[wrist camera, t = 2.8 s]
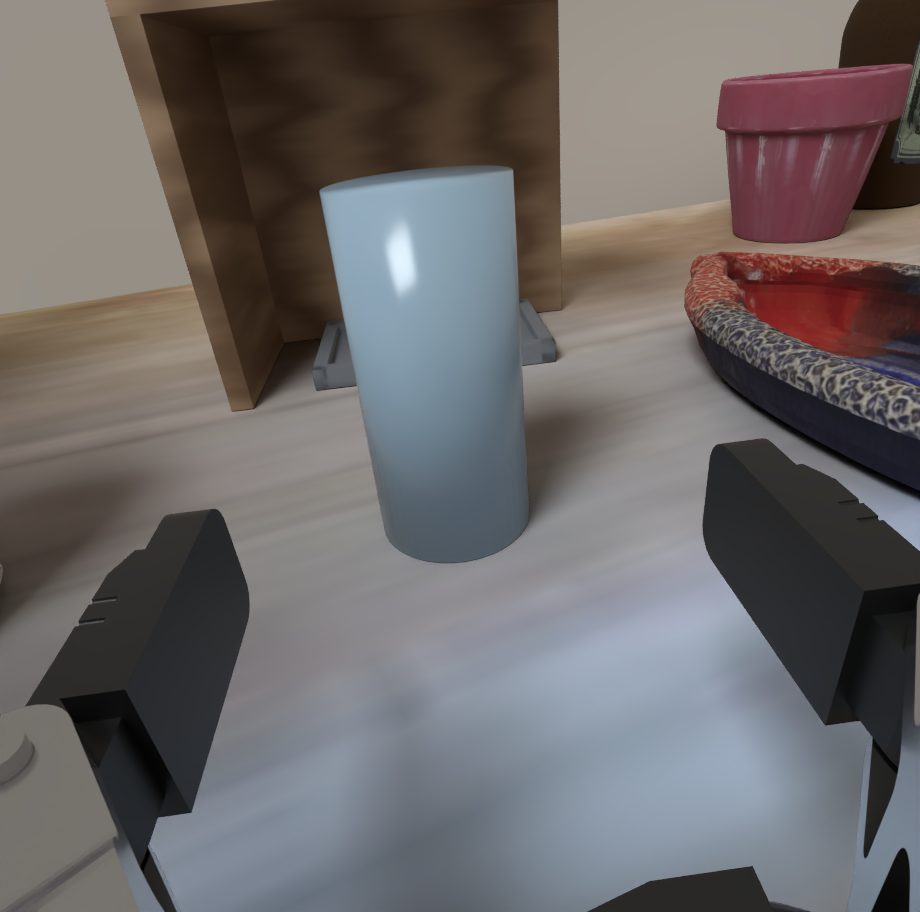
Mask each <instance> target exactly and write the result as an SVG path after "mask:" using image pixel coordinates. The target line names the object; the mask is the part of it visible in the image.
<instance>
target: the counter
mask: <svg viewBox="0 0 920 912" xmlns="http://www.w3.org/2000/svg"><path fill="white" fill-rule="evenodd" d="M105 2H106V5H107V8H108V11H109V15H110V18H111V21H112V25H113V28H114V31H115V34H116V37H117V41H118V44H119V47H120V51H121V54H122V57H123V60H124V63H125V67H126V70H127V73H128V76H129V80H130V83H131V86H132V89H133V93H134V96H135V99H136V102H137V106H138V109H139V112H140V115H141V118H142V122H143V125H144V128H145V131H146V135H147V138H148V141H149V144H150V147H151V151H152V154H153V157H154V161H155V164H156V167H157V170H158V173H159V176H160V179H161V183H162V186H163V190H164V193H165V196H166V199H167V202H168V206H169V209H170V212H171V215H172V219H173V222H174V225H175V228H176V232H177V235H178V238H179V241H180V245H181V248H182V251H183V254H184V258H185V261H186V264H187V267H188V271H189V274H190V277H191V280H192V283H193V287H194V290H195V293H196V296H197V300H198V303H199V306H200V309H201V313H202V316H203V319H204V322H205V326H206V329H207V332H208V335H209V339H210V342H211V345H212V348H213V351H214V355H215V358H216V361H217V364H218V368H219V371H220V374H221V377H222V381H223V384H224V387H225V390H226V394H227V397H228V400H229V403H230V406H231V410H232V411H237V410H246V409H254V407H255V405H256V402H257V400H258V398H259V396H260V394H261V392H262V389H263V387H264V385H265V383H266V381H267V379H268V377H269V374H270V372H271V370H272V368H273V366H274V364H275V361H276V359H277V357H278V355H279V353H280V351H281V349H282V346H283V344H284V343H286V342H294V341H303V340H311V339H319V338H322V337H323V333H324V330H325V327H326V324H327V322H331V321H340V320H344V317H343V312H342V306H341V301H340V296H339V291H338V286H337V280H336V275H335V270H334V265H333V260H332V254H331V249H330V244H329V239H328V234H327V228H326V223H325V218H324V213H323V208H322V202H321V197H320V192H319V191H320V190H321V189H322V188H324V187H326V186H329V185H332V184H335V183H339V182H343V181H347V180H352V179H356V178H361V177H367V176H373V175H379V174H386V173H392V172H400V171H408V170H417V169H427V168H438V167H452V166H474V165H490V166H504V167H509V168H512V169H513V178H514V200H515V222H516V243H517V265H518V287H519V299H525V298H527V299H528V300H529V302H530V303H531V305H532V306H533V308H534V309H535V311H536V313H537V312H546V311H554V310H562V285H561V212H560V211H561V205H560V204H561V203H560V129H559V128H560V120H559V42H558V41H559V39H558V38H559V37H558V0H105Z"/></svg>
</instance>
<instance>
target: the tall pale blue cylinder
mask: <svg viewBox="0 0 920 912" xmlns="http://www.w3.org/2000/svg"><path fill="white" fill-rule="evenodd" d="M319 192H320V197H321V202H322V208H323V213H324V218H325V223H326V228H327V234H328V239H329V244H330V249H331V254H332V260H333V265H334V270H335V275H336V280H337V286H338V291H339V296H340V301H341V306H342V312H343V317H344V322H345V327H346V332H347V338H348V343H349V348H350V353H351V359H352V364H353V369H354V374H355V379H356V385H357V390H358V395H359V400H360V405H361V411H362V416H363V421H364V426H365V431H366V437H367V442H368V447H369V452H370V457H371V463H372V468H373V473H374V478H375V483H376V489H377V494H378V499H379V504H380V510H381V515H382V520H383V525H384V530H385V533H386V536H387V538H388V540H389V541H390V542H391V544H392V545H393V546H394V547H395V548H397V549H398V550H399V551H401V552H403V553H404V554H406V555H409V556H411V557H413V558H416V559H420V560H424V561H429V562H438V563H456V562H465V561H471V560H475V559H479V558H483V557H486V556H489V555H491V554H494V553H496V552H498V551H500V550H502V549H504V548H505V547H507V546H508V545H510V544H511V543H512V542H514V541H515V540H516V539H517V538H518V537H519V536H520V535H521V533H522V532H523V531H524V529H525V527H526V525H527V523H528V519H529V503H528V481H527V460H526V438H525V416H524V395H523V373H522V351H521V330H520V308H519V287H518V265H517V243H516V222H515V200H514V178H513V169H512V168H509V167H504V166H490V165H474V166H452V167H438V168H427V169H417V170H408V171H400V172H392V173H386V174H379V175H373V176H367V177H361V178H356V179H352V180H347V181H343V182H339V183H335V184H332V185H329V186H326V187H324V188H322V189H321V190H320V191H319Z"/></svg>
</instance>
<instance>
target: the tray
mask: <svg viewBox="0 0 920 912" xmlns="http://www.w3.org/2000/svg"><path fill="white" fill-rule="evenodd" d="M519 308H520V330H521V351H522V365H529V364H537V363H545V362H554V361H556V348H555V340H554V339H553V337H552V336H551V334H550V333H549V331H548V330H547V328H546V326H545V325H544V323H543V322H542V320H541V319H540V317H539V316H538V314H537V313H536V311H535V309H534V308H533V306H532V305H531V303H530V302H529V300H528V299H527V298H525V299H519ZM312 375H313V379H314V383H315V388H316V390H323V389H332V388H340V387H348V386H356V379H355V374H354V369H353V364H352V359H351V353H350V348H349V343H348V338H347V332H346V327H345V322H344V320H340V321H331V322H327V324H326V327H325V330H324V333H323V337H322V340H321V343H320V346H319V349H318V353H317V356H316V359H315V362H314V365H313V368H312Z"/></svg>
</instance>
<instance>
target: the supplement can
mask: <svg viewBox="0 0 920 912" xmlns="http://www.w3.org/2000/svg"><path fill="white" fill-rule="evenodd" d="M2 572H3V567H2V565H1V564H0V584H1V578H2Z"/></svg>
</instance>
